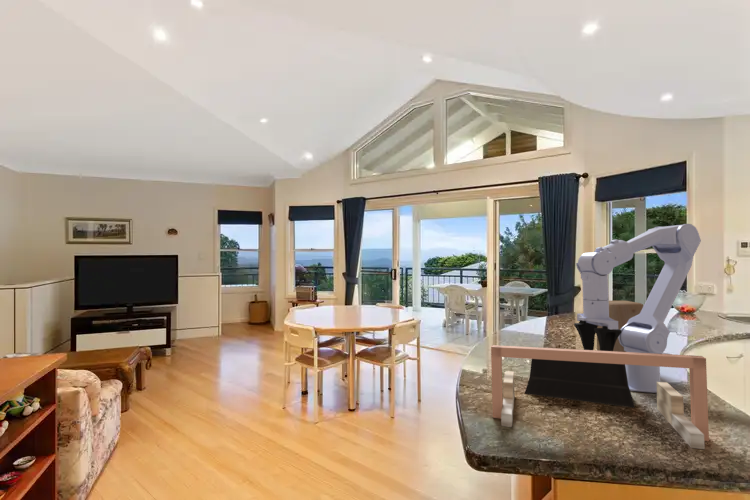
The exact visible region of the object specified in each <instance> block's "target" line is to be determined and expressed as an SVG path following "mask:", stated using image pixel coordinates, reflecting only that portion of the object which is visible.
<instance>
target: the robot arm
mask: <svg viewBox="0 0 750 500" xmlns="http://www.w3.org/2000/svg"><path fill="white" fill-rule="evenodd" d="M701 242H702V239H701V236H700V233H699V230H698V229H697V227H696V226H695V225H693V224H692V223H683V224H676V225H668V226H667V225H666V226H660V225H659V226H655V227H653V228H649V229H647V230H646V231H644V232H642V233H640V234H639V235H636V236H635V237H633V238H630V239H629V240H627V241H625V240H623V239H612V240H610V241H609V243H608V244H607V245H603V246H598V247H596V248H595V250H594V251H589V252H588V251H587V252H584V253H582V254H581V255H580V256H579V258H578V259H577V260H578V261H577V262H576V263H575V264H576V265H575V266H576V269H577V270H578V272H579V275H580V279H581V281H582V313H576V319H577V322H574V323H573V325H574V327H575V329H576V330H577V332H578V335H579V337H580V341H581V344H582V349H583V350H595V340H596V339H595V338H597V337H598V341H599V346H600V351H613V349H614V345H615V343H616V340H617V338H618V339H619V342H620V344H621V345H622V346H623V347H624V351H626V352H635V353H654V354H664V352H665V351H666V349H667V345H668V338H669V335H670V332H671V331H670V330H669V328H668V327H667V326H666V324H665V320H666V318H667V316H668V315H669V313H670V310H671V309H672V307H673V304H674V303H675V301H676V298H677V296H678V294H679V292H680V290H681V288H682V286H683V285H684V282H685V280H686V278H687V276H688V275H689V272H690V270H691V268H692V265H693V261H694V260H693V259H694V257H695V254H696V252H697V250H698V247H699V246H700V244H701ZM650 247H651V248H653V250H654V251H655V253H656V254H657V256H658V257H659V259H660V260H661V261H664V265H663V266H662V269H661V271H660V273H659V275H658V277H657V279H656V280H655V282H654V284H653V287H652V289H651V291H650V292H649V294H648V297H647V299H646V301H645V303H644V304H643V308H642V310H641V312H640V314H638V315H636V316H634V317H632V318H630V319H629V320H628V322H627V324H626V325H624V326H623V327H622V328H621V329H618V321H615V320H613V319H611V318H610V317H609V301H610V300H609V275H610V274H611V273H612V271H613V270H614V268H615V267H618V266H620V265H622V264H625V263H627V262H628V261H631V260H632V259H633V257H634V254H636V253H638V252H640V251H643V250H645V249H647V248H650ZM598 326H602V328H597V327H598ZM625 367H626V373H627V380H628V386H629V389H630V392H638V393H639V392H641V393H653V394H654V393H655V394H657V383H656V382H661V372H660V371H661V369H660V368H661V367H659V366H642V365H626V364H625Z"/></svg>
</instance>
